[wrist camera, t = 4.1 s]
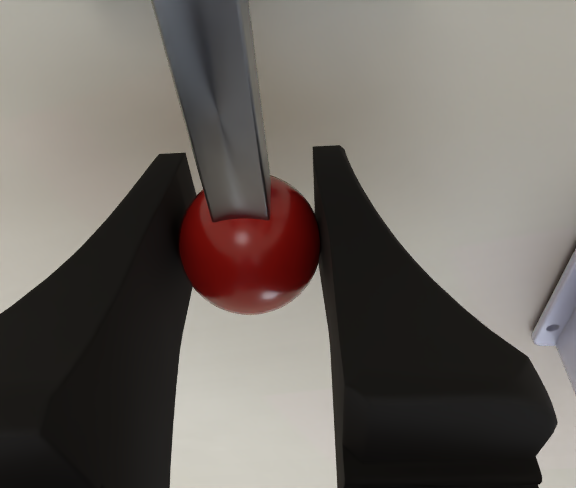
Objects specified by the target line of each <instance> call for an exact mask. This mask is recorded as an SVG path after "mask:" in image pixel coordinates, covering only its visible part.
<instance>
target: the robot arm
mask: <svg viewBox="0 0 576 488" xmlns="http://www.w3.org/2000/svg"><path fill="white" fill-rule="evenodd" d="M313 172H314V202H315V216H316V219H317V222H318V225H319V230H320V238H321V252H320V258H319V262H318V263H319V270H320V277H321V283H322V290H323V297H324V303H325V310H326V316H327V323H328V330H329V339H330V352H331V370H332V389H333V408H334V428H335V448H336V468H337V488H539V487H538V484H540V483H541V482H542V475H541V472H540V468H539V465H538V462H537V459H536V455H537V454H538V452H539V451H540V450H541V448H542V447H543V446H544V444H545V443H546V442H547V441H548V439H549V438H550V437H551V435H552V434H553V432H554V430H555V428H556V425H557V419H556V415H555V411H554V408H553V405H552V402H551V400H550V398H549V395H548V393H547V391H546V389H545V387H544V385H543V383H542V381H541V379H540V377H539V375H538V373H537V372H536V370H535V368H534V366H533V364H532V363H531V361H530V359H529V357H527V356H526V355H525V354H523V353H522V352H520V351H519V350H518V349H516V348H515V347H513V346H512V345H511V344H509V343H508V342H506V341H505V340H504V339H502V338H501V337H499V336H498V335H497V334H495V333H494V332H492V331H491V330H490V329H488V328H487V327H486V326H485V325H483V324H482V323H481V322H480V321H479V320H477V319H476V318H475V317H474V316H473V315H471V314H470V313H469V312H468V311H466V310H465V309H464V308H463V307H462V306H461V305H460V304H459V303H458V302H456V301H455V300H454V299H453V298H452V297H451V296H450V295H449V294H448V293H447V292H446V291H445V290H443V289H442V288H441V287H440V286H439V285H438V284H437V283H436V282H435V281H434V280H433V279H432V278H431V277H430V276H429V275H428V274H427V273H426V272H425V271H424V270H423V269H422V268H421V267H420V266H419V265H418V263H417V262H416V261H415V260H414V259H413V258H412V257H411V256H410V254H409V253H408V252H407V251H406V250H405V249H404V247H403V246H402V245H401V244H400V242H399V241H398V240H397V239H396V237H395V236H394V235H393V233H392V232H391V231H390V229H389V228H388V227H387V225H386V224H385V223H384V221H383V220H382V218H381V217H380V215H379V214H378V212H377V211H376V210H375V208H374V206H373V205H372V203H371V201H370V200H369V198H368V197H367V195H366V193H365V192H364V190H363V188H362V187H361V185H360V183H359V181H358V179H357V177H356V175H355V174H354V172H353V169H352V167H351V165H350V163H349V161H348V158H347V156H346V153H345V149H343V148H342V147H341V146H340V145H336V146H315V147H313ZM195 197H196V192H195V188H194V185H193V181H192V177H191V173H190V169H189V165H188V161H187V157H186V153H171V154H159V155H158V156H157V157H156V158H155V160H154V161H153V162H152V163H151V165H150V166H149V167H148V169H147V170H146V171H145V172H144V174H143V175H142V176H141V178H140V179H139V180H138V181H137V183H136V184H135V185H134V187H133V188H132V189H131V190H130V192H129V193H128V194H127V195H126V197H125V198H124V199H123V200H122V202H121V203H120V204H119V205H118V206H117V208H116V209H115V210H114V211H113V212H112V214H111V215H110V216H109V217H108V218H107V219H106V221H105V222H104V223H103V224H102V225H101V226H100V227H99V228H98V229H97V230H96V232H95V233H94V234H93V235H92V236H91V237H90V238H89V239H88V240H87V241H86V242H85V243H84V244H83V246H82V247H81V248H80V249H79V250H78V251H76V252H75V253H74V254H73V255H72V256H71V257H70V258H69V259H68V260H67V261H66V262H65V263H64V264H62V265H61V266H60V267H59V268H58V269H57V270H56V271H55V272H54V273H52V274H51V275H50V276H49V277H48V278H47V279H45V280H44V281H43V282H42V283H40V284H39V285H38V286H36V287H35V288H34V289H33V290H31V291H30V292H29V293H28V294H26V295H25V296H24V297H22V298H21V299H20V300H19V301H17V302H16V303H15V304H14V305H12V306H11V307H9V308H8V309H7V310H5V311H4V312H2V313H1V314H0V488H170V466H171V450H172V434H173V419H174V407H175V395H176V384H177V374H178V364H179V354H180V346H181V340H182V334H183V329H184V324H185V320H186V315H187V310H188V306H189V301H190V296H191V291H192V287H193V286H192V285H191V283H190V282H189V280H188V279H187V277H186V275H185V273H184V270H183V268H182V265H181V261H180V257H179V249H178V237H179V230H180V226H181V222H182V219H183V217H184V214H185V212H186V210H187V208H188V207H189V205H190V204H191V202H192V201H193V199H194V198H195ZM531 337H532V340H533V342H534V344H536V345H539V346H556V347H557V350H558V352H559V355H560V357H561V360H562V362H563V365H564V367H565V370H566V372H567V375H568V377H569V380H570V382H571V385H572V387H573V390H574V392H575V395H576V249H575V251H574V253H573V255H572V257H571V259H570V261H569V263H568V264H567V266H566V268H565V270H564V272H563V274H562V276H561V278H560V280H559V282H558V284H557V286H556V288H555V290H554V292H553V294H552V296H551V298H550V299H549V301H548V303H547V305H546V307H545V309H544V311H543V313H542V315H541V317H540V319H539V321H538V323H537V325H536V327H535V329H534V331H533V333H532V335H531Z"/></svg>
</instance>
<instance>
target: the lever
mask: <svg viewBox="0 0 576 488" xmlns="http://www.w3.org/2000/svg"><path fill="white" fill-rule="evenodd" d="M151 2H152V5H153V9H154V13H155V16H156V20H157V23H158V27H159V31H160V34H161V38H162V42H163V45H164V49H165V52H166V56H167V60H168V63H169V67H170V71H171V74H172V78H173V81H174V85H175V89H176V92H177V96H178V100H179V103H180V107H181V111H182V114H183V118H184V121H185V125H186V129H187V132H188V136H189V140H190V143H191V147H192V150H193V154H194V158H195V161H196V165H197V169H198V172H199V176H200V180H201V183H202V187H203V190H202V191H201V192H200V193H199V194H198V195H197V196H196V197H195V198H194V199H193V201H192V202H191V204H190V205H189V207H188V208H187V210H186V212H185V214H184V217H183V219H182V222H181V226H180V230H179V237H178V249H179V257H180V261H181V265H182V268H183V270H184V273H185V275H186V277H187V279H188V280H189V282H190V283H191V285H192V286H193V288H194V289H195V290H196V291H197V292H198V293H199V294H200V295H201V296H202V297H203V298H204V299H206V300H207V301H208V302H210V303H211V304H213V305H214V306H216V307H218V308H220V309H223V310H226V311H228V312H232V313H236V314H243V315H256V314H263V313H267V312H271V311H274V310H277V309H279V308H281V307H283V306H285V305H286V304H288V303H290V302H291V301H292V300H294V299H295V298H296V297H297V296H298V295H299V294H301V292H302V291H303V290H304V289H305V288H306V286H307V285H308V284H309V282H310V281H311V279H312V277H313V275H314V273H315V271H316V268H317V266H318V262H319V258H320V252H321V238H320V230H319V225H318V222H317V219H316V216H315V214H314V212H313V210H312V208H311V206H310V204H309V203H308V202H307V200H306V199H305V198H304V197H303V195H302V194H301V193H300V192H299V191H297V190H296V189H295V188H294V187H293V186H291V185H290V184H288V183H287V182H285V181H283V180H281V179H279V178H277V177H274V176H271V175H270V170H269V162H268V154H267V146H266V138H265V130H264V122H263V114H262V106H261V98H260V90H259V82H258V74H257V66H256V58H255V50H254V42H253V33H252V25H251V17H250V9H249V1H248V0H151Z"/></svg>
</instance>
